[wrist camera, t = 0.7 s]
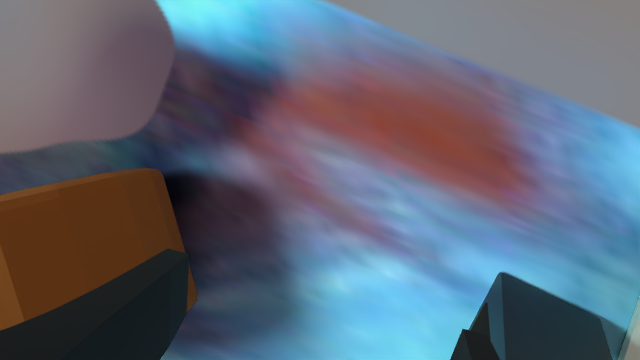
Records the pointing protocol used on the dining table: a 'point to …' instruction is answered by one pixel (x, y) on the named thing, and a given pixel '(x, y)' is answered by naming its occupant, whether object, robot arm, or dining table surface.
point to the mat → (632, 338)
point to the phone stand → (537, 325)
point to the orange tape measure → (80, 238)
